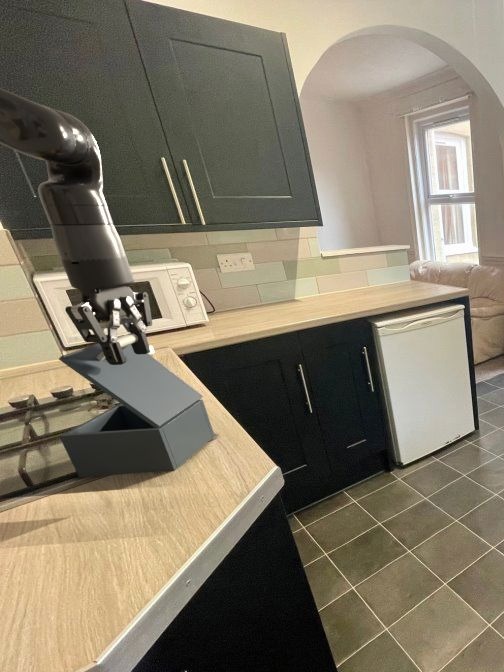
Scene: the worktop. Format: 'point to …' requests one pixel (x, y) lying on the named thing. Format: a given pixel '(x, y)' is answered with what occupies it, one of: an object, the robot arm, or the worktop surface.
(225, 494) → the worktop surface
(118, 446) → the storage box
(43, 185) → the robot arm
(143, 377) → the lid
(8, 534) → the worktop surface
